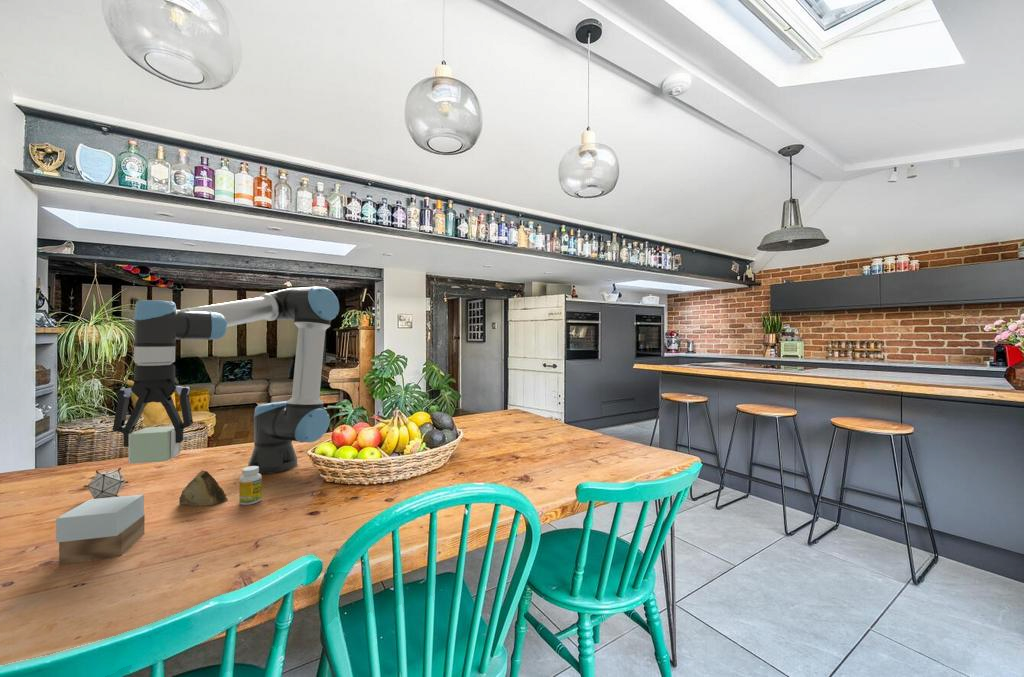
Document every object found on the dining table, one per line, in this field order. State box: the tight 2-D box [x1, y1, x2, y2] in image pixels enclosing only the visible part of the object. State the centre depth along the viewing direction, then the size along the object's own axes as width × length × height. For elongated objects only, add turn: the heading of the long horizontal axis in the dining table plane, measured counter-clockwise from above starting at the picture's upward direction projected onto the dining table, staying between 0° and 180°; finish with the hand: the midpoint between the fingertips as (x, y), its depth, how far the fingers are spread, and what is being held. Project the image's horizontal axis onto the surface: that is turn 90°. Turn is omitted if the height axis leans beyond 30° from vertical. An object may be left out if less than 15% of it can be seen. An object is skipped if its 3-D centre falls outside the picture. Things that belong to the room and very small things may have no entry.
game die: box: [83, 467, 129, 499], centre depth 116 cm, size 9×8×10 cm
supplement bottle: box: [238, 466, 263, 506], centre depth 114 cm, size 5×5×10 cm
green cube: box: [129, 425, 181, 465], centre depth 99 cm, size 7×7×7 cm
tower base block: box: [58, 513, 146, 566], centre depth 89 cm, size 10×10×5 cm
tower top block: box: [55, 494, 145, 543], centre depth 89 cm, size 10×10×5 cm
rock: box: [178, 469, 228, 506], centre depth 114 cm, size 11×9×10 cm
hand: (154, 457), depth 98 cm, fingers closed on green cube, 7 cm apart
